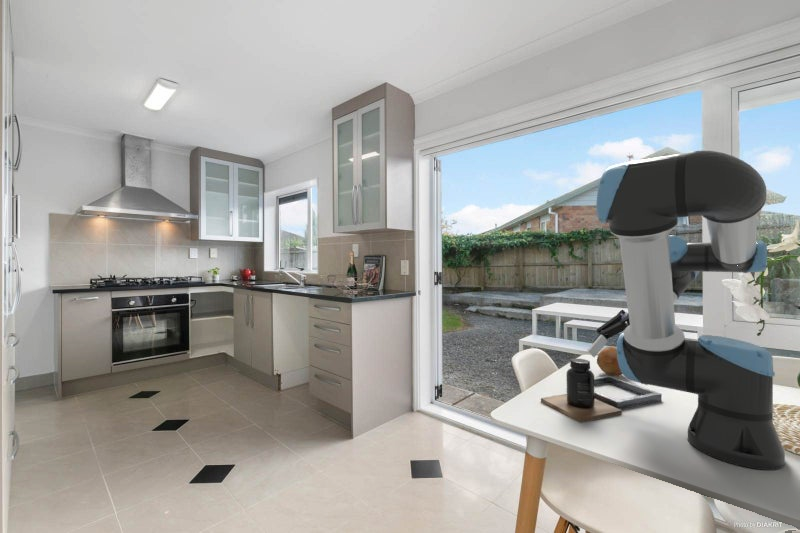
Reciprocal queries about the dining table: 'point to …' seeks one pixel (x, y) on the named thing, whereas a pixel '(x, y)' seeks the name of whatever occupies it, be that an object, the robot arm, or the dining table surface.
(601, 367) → the onion
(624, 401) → the metal rim
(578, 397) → the supplement bottle
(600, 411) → the walnut board
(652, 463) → the dining table surface
